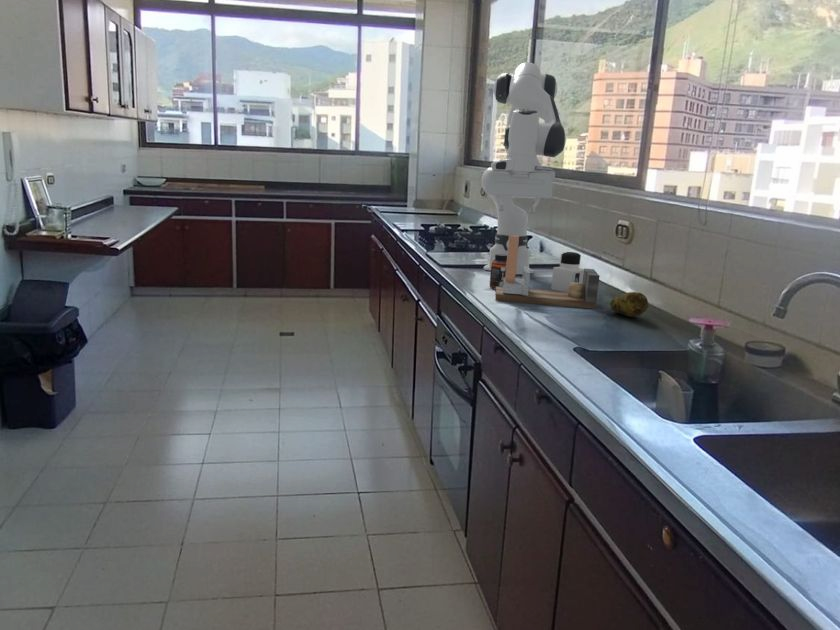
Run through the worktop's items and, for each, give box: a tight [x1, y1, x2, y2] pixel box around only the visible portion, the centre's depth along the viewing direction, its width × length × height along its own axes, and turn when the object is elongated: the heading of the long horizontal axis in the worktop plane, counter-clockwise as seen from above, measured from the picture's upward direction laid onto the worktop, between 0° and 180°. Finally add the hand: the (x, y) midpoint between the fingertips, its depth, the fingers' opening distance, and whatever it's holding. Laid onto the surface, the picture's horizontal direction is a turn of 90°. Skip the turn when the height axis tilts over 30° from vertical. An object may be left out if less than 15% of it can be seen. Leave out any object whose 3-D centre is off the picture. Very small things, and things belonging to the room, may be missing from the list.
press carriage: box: [502, 235, 531, 296], centre depth 208 cm, size 12×8×17 cm, turn 174°
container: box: [550, 251, 585, 292], centre depth 226 cm, size 8×8×13 cm
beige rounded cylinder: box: [568, 282, 584, 298], centre depth 208 cm, size 4×4×4 cm
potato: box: [609, 291, 649, 318], centre depth 193 cm, size 8×13×8 cm, turn 0°
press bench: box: [494, 268, 600, 310], centre depth 208 cm, size 12×30×10 cm, turn 84°
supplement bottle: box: [489, 254, 507, 290], centre depth 223 cm, size 6×6×11 cm
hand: (516, 211), depth 204 cm, fingers open, 8 cm apart
